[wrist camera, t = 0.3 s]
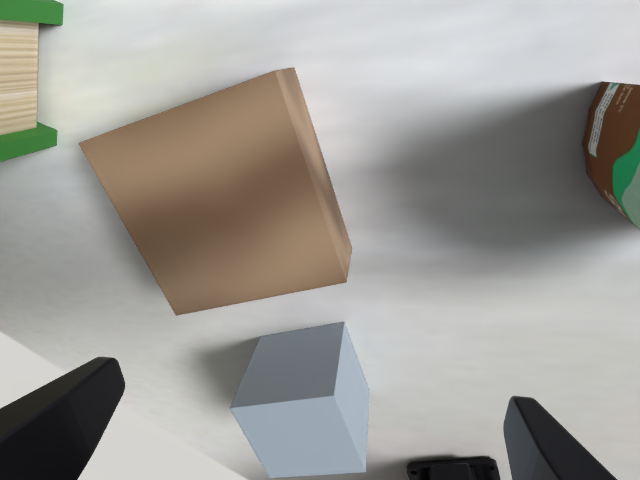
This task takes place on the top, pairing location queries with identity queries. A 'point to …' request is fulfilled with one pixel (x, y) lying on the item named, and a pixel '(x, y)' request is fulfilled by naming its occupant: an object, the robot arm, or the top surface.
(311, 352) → the grey cube
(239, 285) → the walnut block
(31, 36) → the hardback book
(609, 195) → the food container
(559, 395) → the top surface
